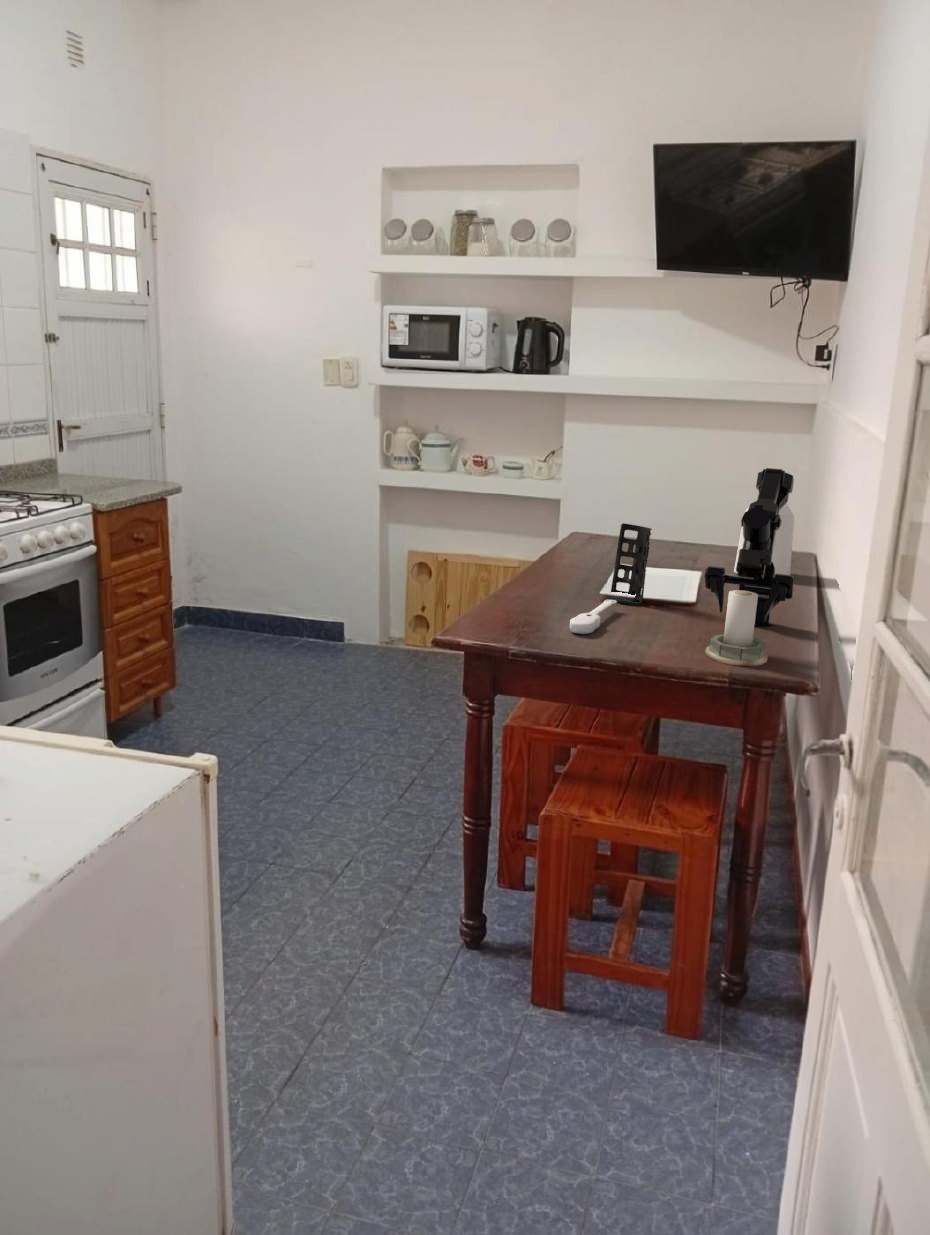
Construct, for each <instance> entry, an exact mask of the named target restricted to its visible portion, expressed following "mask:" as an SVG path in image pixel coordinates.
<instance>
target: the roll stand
mask: <svg viewBox="0 0 930 1235" xmlns="http://www.w3.org/2000/svg"><path fill="white" fill-rule="evenodd" d="M723 640H724V634H715V635H713V636H712V637H711V638H710V639H709V645H708V646H706V648H705V651H704V652H705V653H704V654H705V656H706V657H707V658H708V659H710V660H713V661H715V662H718V663H721V664H725V665H732V666H739V667H740V666H741V667H756V666H761V665H765V664H767V662H768V660H769V659H768V658H769V656H768V654H767V652H766V642H765V641H763V640H760V639H758V638H756V637H754V636H753V641H752V647H737V646H731V645H726V644H723ZM764 663H765V664H764Z"/></svg>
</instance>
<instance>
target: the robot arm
mask: <svg viewBox="0 0 930 1235" xmlns="http://www.w3.org/2000/svg"><path fill="white" fill-rule="evenodd" d="M756 478H757V479H756V484H755V489H756V490H757V491H758V496H757V499H756V500H757V501H756V500H755V501H753V502H751V503H750V504H749V507H748V508H749V509H748V508H747V509H748V511H747V512H745V511H744V513H743V516H742V517H741V521H740V523H741V528H742V527H743V537H744V543H743V548H742V549H740V551H739V557H738V562H737V567H736V572H737V573H736V572H735V573H736V574H732V573H726V568H725V567H723V566H722V567H721V566H713V565H709V566H708V567H706V568H705V572H704V583H705V584H704V586H705V588H706V589H707V590H710V592H711V593H713V594H715V596H716V599H717V602H718V603H717V604H718V609H719V613H720V614H721V613H723V610H724V609H723V608H724V599H725V585H726V584H731V585H738V590H740V591H749V592H753V593H756V594H758V600H757V608H756V617H755V625H754V627H760V626H761V627H764V626H766V627H767V626H773V622H771V621H770V616H771V612H772V610H773V609H774V608H775V607H776V606H777V605H778V604H779V603H780V602H785V601H786V599H787V600H790V599H793V595H794V588H795V586H794V585H795V578H794V576H793V575H791V574H790V575H784V574H775V567H774V565H773V562H772V561H771V560H772V553H773V546H774V540H775V534H776V530H777V531H778V529H779V527H780V526H781V524H782V520H781V519H780V518H781V517H780V515H779V511H780V509H781V508H782V507H783V506H784V505H785V504H786V503H788V501H789V498H790V497H789V496H790V494H792V493H793V488H794V482H795V481H794V480H795V479H794V475H792V474H791V473H788V472H786V470H783V469H782V468H771V467H770V468H769V467H766V468H763V469H762V471H759V472H757V477H756Z"/></svg>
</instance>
